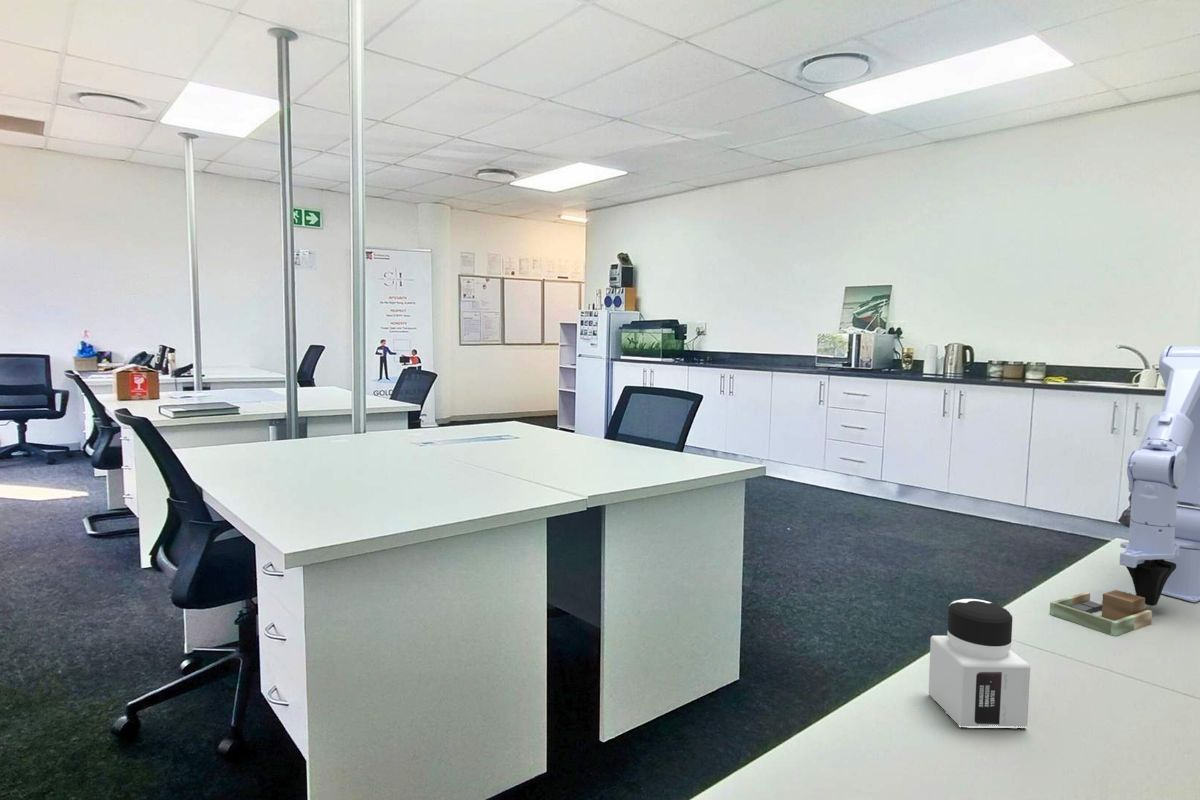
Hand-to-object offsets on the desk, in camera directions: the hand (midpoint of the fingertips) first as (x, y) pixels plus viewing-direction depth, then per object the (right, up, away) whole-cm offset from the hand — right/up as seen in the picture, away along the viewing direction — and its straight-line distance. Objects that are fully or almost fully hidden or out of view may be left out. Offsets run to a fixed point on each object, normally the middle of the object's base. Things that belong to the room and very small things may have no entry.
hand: (1147, 603), depth 109 cm
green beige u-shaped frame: (-10, -2, -3) cm, 11 cm away
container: (-46, -4, -31) cm, 55 cm away
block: (-7, -2, -3) cm, 8 cm away
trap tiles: (-10, -1, 0) cm, 10 cm away
